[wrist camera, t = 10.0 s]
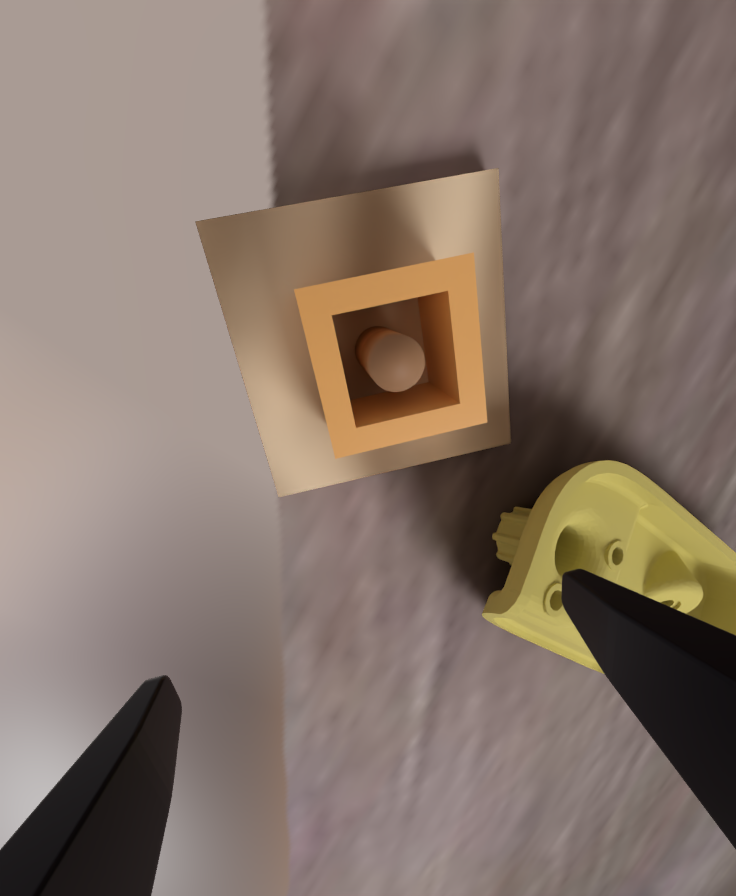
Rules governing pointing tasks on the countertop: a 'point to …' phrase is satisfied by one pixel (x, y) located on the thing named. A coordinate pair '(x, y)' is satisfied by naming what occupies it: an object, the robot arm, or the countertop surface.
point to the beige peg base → (355, 315)
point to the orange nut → (445, 344)
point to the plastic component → (607, 555)
